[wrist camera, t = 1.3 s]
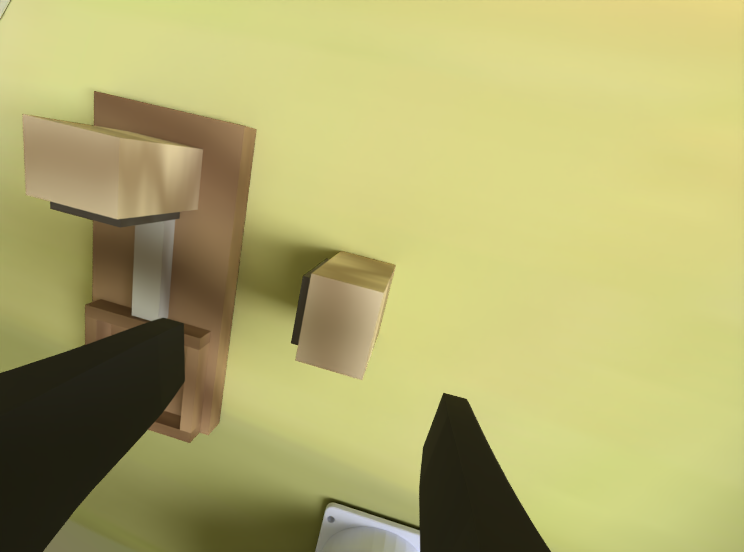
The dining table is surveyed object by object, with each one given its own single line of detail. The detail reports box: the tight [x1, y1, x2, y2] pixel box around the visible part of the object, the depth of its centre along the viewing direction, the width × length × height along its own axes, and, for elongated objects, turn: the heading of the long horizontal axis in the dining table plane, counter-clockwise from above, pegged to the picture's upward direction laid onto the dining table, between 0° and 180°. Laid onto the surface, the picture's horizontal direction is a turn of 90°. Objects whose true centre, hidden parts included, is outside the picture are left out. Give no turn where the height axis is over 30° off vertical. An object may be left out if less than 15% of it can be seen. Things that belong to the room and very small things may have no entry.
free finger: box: [291, 251, 396, 380], centre depth 17 cm, size 4×4×5 cm
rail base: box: [22, 91, 256, 443], centre depth 18 cm, size 18×8×6 cm, turn 167°
